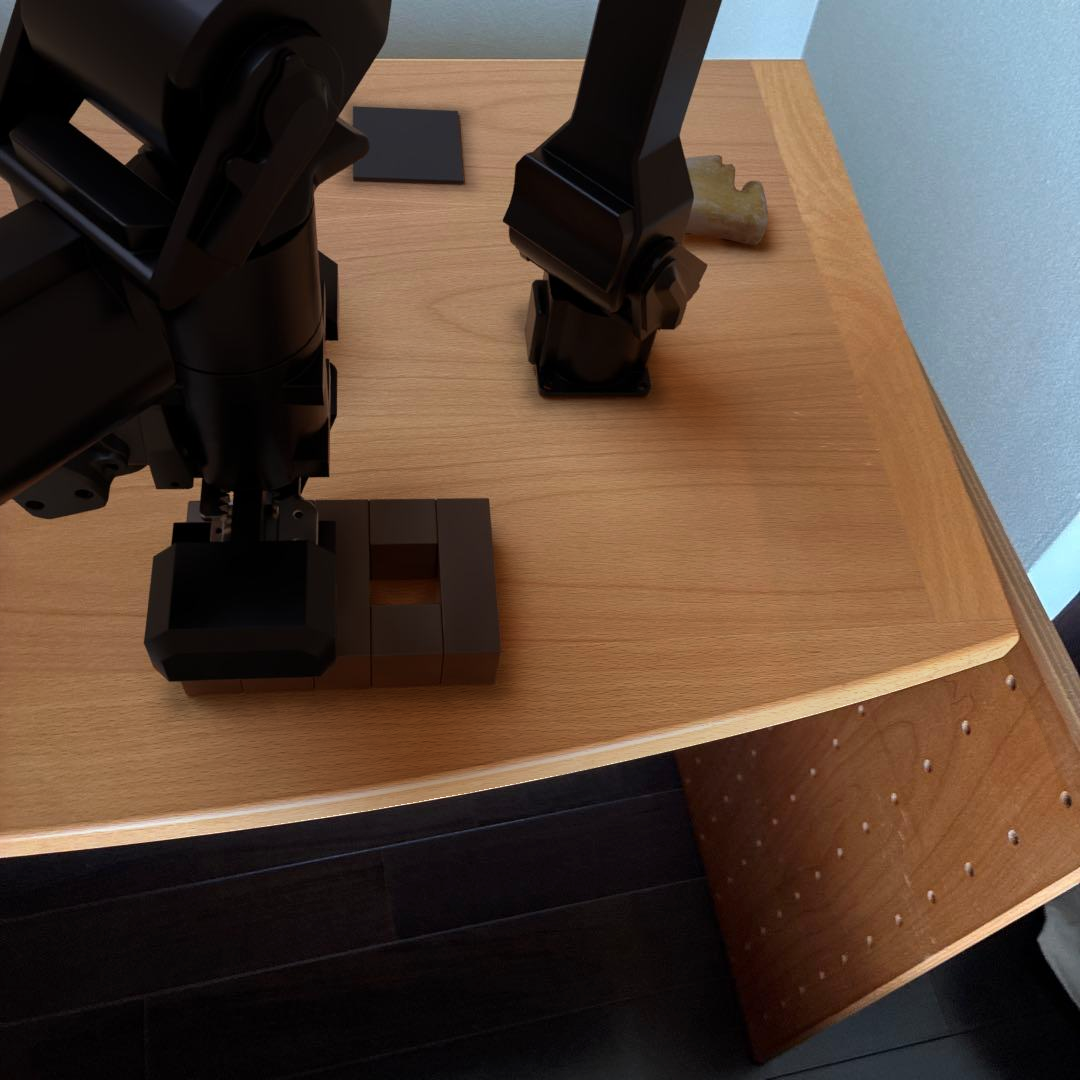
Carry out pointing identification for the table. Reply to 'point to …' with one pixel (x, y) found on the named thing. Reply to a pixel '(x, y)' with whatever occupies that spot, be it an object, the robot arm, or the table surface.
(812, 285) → the table surface
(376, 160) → the pad
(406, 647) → the board
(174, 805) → the table surface
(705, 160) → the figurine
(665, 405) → the table surface
